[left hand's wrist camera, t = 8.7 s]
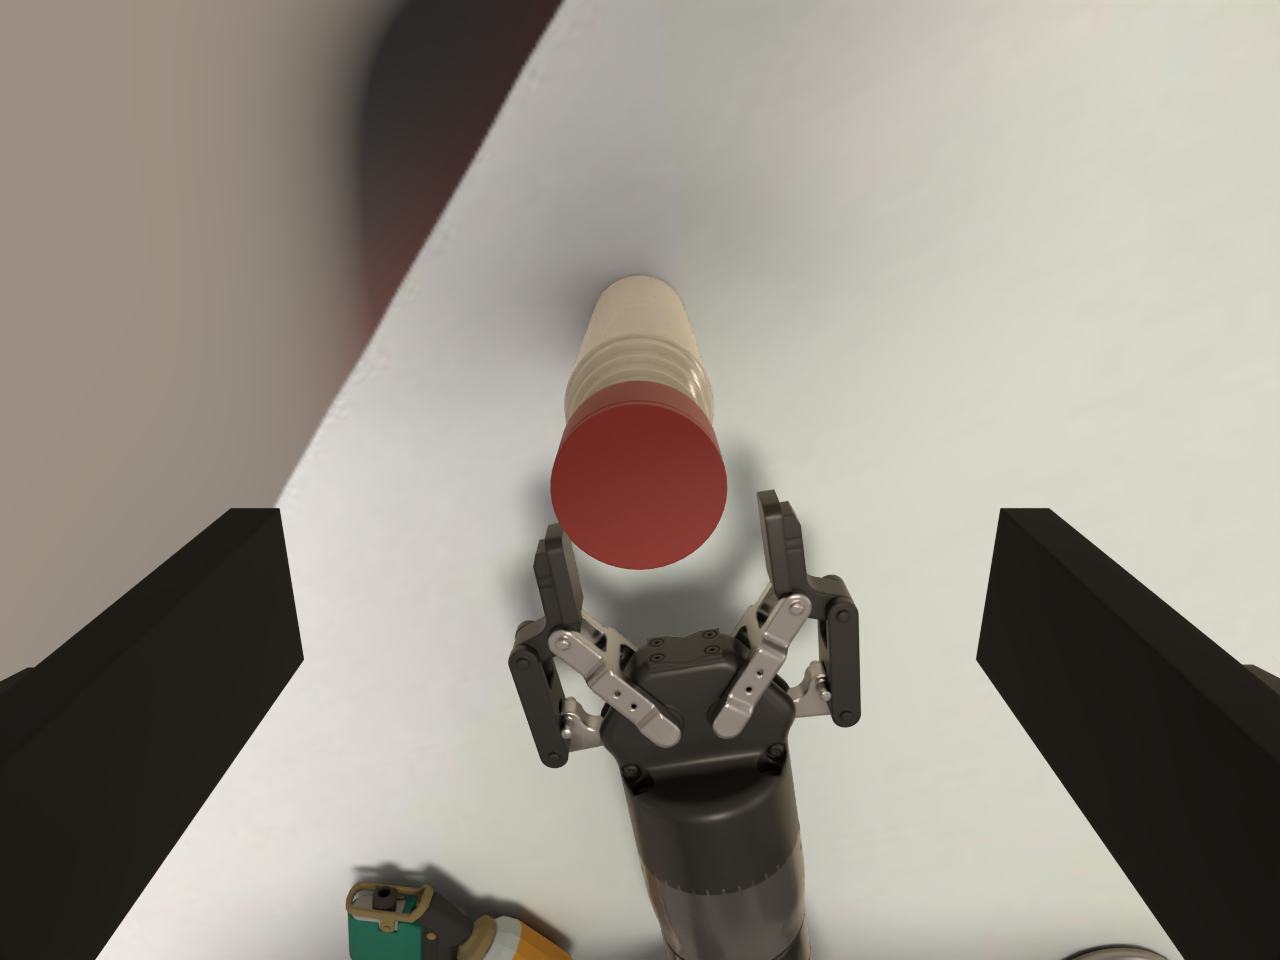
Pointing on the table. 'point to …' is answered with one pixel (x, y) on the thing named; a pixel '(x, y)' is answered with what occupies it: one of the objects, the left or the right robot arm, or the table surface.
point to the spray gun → (434, 929)
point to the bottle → (639, 344)
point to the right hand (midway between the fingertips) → (660, 513)
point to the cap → (638, 476)
